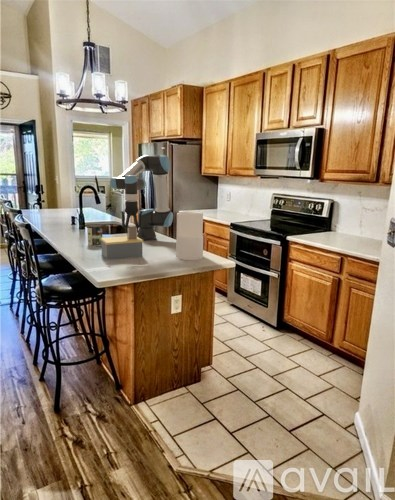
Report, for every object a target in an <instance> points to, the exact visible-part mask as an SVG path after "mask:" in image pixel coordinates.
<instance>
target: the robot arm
mask: <svg viewBox="0 0 395 500" xmlns="http://www.w3.org/2000/svg"><path fill="white" fill-rule="evenodd" d="M171 166H172V165H171V160H170V158H169V156H167V155H165V154H144V155H142V156H140V157H137V158H136V159H135V160H134V161H133V162H132V164H131V165H129V167H128V168H127V169H126V170H124V171H123V172H122V173H120V174H119V175H118V176H112V177H111V178H110V180H109V184H110V187H111V189H113V190H124V194H125V195H124V200H125V201H124V202H125V203H124V205H125V206H124V207H125V208H124V210H120V215H121V226H122V228H124V232H125V233H124V234H126V236H127V238H128V239H129V228H128V225H129V224H130V219H131V217H133V221H134V225H135V226H136V235H137V237H139V238H140V239H142V240H143V241H152V240H156V239H157V235H156V231H155V227H162V228H166V227H171V225H172V223H173V219H174V213H173V212H172V211H171V208H169V202H168V201H169V200H168V182H167V176H168V174H169V172H170V171H171ZM143 172H152V175H153V176H154V182H155V183H154V186H155V187H154V188H155V201H156V208H155V209H154V208H145V209H141V210H139V207H138V205H139V204H138V191H142V190H145V189H146V186H147V182H146V180H145V179H144V178H141V177H138V175H139V174H140V173H143ZM125 214H126V216H125ZM137 214H138V217H137ZM125 218H126V219H125Z"/></svg>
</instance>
